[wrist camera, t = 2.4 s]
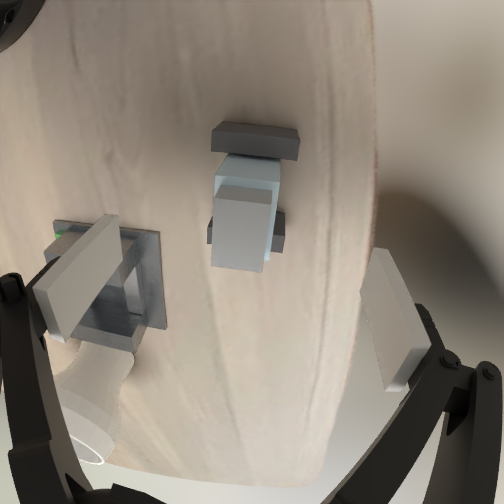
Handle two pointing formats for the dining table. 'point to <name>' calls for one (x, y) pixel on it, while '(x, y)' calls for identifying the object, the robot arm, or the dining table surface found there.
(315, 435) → the dining table surface
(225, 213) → the plug
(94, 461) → the cup
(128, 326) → the port
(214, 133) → the pair of dark bars
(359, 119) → the dining table surface
